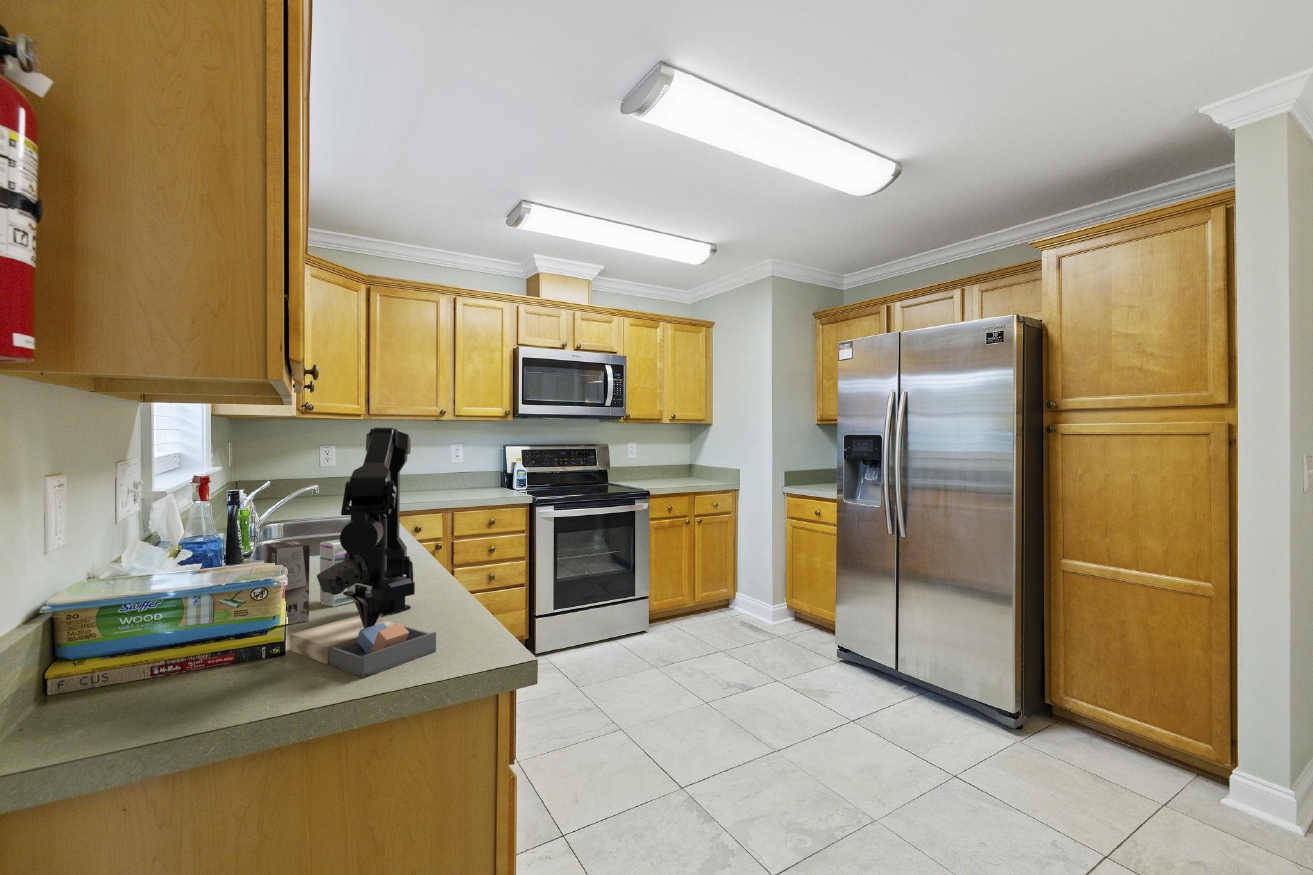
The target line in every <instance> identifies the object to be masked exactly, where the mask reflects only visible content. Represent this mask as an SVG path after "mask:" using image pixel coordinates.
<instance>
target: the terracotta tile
mask: <svg viewBox="0 0 1313 875" xmlns="http://www.w3.org/2000/svg"><path fill="white" fill-rule="evenodd" d="M404 626H405V625H403V624H402V623H400V624H399V625H396V626H393V627H390V628H387V629H383V630H380V631H378V634H377V637H376V639H375V642H374V645H373V648H372V651H371V653H373V652H375V651H378V650H381V649H384V648H387V647H390V646H393V645H396V644H399V643H402V642H405V641H406V640H407V638H408V635H409V631H408V630H407V629H406V628H405V627H404Z"/></svg>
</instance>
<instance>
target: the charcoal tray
mask: <svg viewBox="0 0 1313 875" xmlns="http://www.w3.org/2000/svg"><path fill="white" fill-rule="evenodd" d="M403 626H404V627H405V628H406V629H407V630H408V631H409V635H408V638H407V640H406V641H405V642H402V643H399V644H396V645H393V646H390V647H387V648H384V649H381V650H378V651H375V652H373V653H370V654H367V653H366V652H365V650H364V649H363V648H362V647H361V646H360V645H359V644H358V642H354V643H351V644H348V645H345V646H342V647H338V648H335V647H333V648H331V650H329V664H328V665H329V666H331V667H333V668H336V669H339V670H343V671H345V672H347V673H350V674H353V675H356V676H358V677H360V678H368V677H371V676H373V675H376V674H379V673H381V672H384V671H387V670H390V669H392V668H394V667H397V666H399V665H404V664H405V663H408V662H411V661H414V660H417V659H418V658H422V657H424V656H427V655H430V654H433V653H435V652H437V632H436V631H432V632H426V631H423V630H420V629H416V628H413V627H409V626H405V625H403Z"/></svg>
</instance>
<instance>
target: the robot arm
mask: <svg viewBox="0 0 1313 875" xmlns="http://www.w3.org/2000/svg"><path fill="white" fill-rule="evenodd" d="M365 438H366V439H365V451H366V453H365V457H364V460H363V461H364V462H363V464H362V465H361V466H359V467H358V468H356V469H354V470H353V472H352V473H351V476H350V477H349V480H348V481H346V482H345V487H344V493H343V499H342V504H341V505H342V506H341V511H340V515H341V516H350V522H348V523H347V524H346V525H345V526H344V527H343V528H342V530H341V532H340V535H339V540H340V543H341V546H342V547H343V548H344V550H345V551H347V553H345V560H344V561H342V562H340V563H338V564H335V565H333V566H332V567H330V568H328V569H326V570H324V571H323V572H321V573H320V572H319V573H318V574H316V578H317V580H318V584H319V588H320V587H321V589H322V592H324V593H325V592H328V593H330V594H332V595H337V594H340V593H342V592H343V591H344V590H345V589H346V588H347V591H346V592H343V594H344V595H346V596H348V597H349V598H350V599H352V600H353V601H354V602H353V603H354V605H355V607H356V609H357V611H358V615H360V618H361V621H362V624H363V627H364V628H368V627H371V626H374V625H375V623H376V621H377V619H380V616H381V615H386V616H387V615H392V614H395V613H398V612H401V611H402V612H403V611H405V610H408V609H409V610H410V609H411V608H412V607H411V605H408V604H406V597H409V596H414V595H415V594H416V583H415V581H414V565H413V561H412V560H411V558H410V556H409V555H407V554H408V549H407V548H408V547H407V546H406V544H405V543H404V541H403V540H402V538H401V536H400V521H401V520H400V519H401V518H400V515H401V514H400V510H401V509H400V507H401V506H400V505H401V504H400V502H401V501H400V498H401V497H400V496H401V492H400V491H401V490H400V489H401V488H400V487H401V486H400V484H401V471H402V470H403V468H404V466H405V465H406V463H407V461H408V457H409V456H408V455H411V448H412V446H411V444H412V443H411V437H410V435H409V434H408V433H405V432H403V431H402V432H401V431H399V429H398V428H395V427H374V428H370V430H369V432H368V433H366V436H365Z"/></svg>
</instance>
